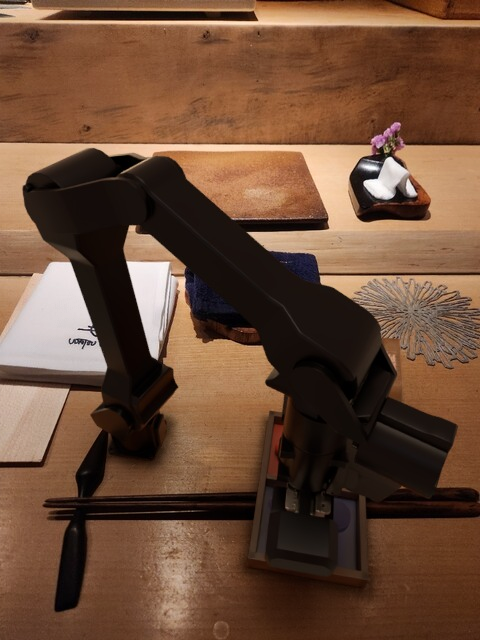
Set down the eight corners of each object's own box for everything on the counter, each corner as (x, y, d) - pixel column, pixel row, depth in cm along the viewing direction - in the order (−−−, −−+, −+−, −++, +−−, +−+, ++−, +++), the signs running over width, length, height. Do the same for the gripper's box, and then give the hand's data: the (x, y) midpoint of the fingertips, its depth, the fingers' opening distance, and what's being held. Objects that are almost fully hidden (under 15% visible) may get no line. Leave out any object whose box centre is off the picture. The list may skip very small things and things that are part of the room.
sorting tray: (247, 567, 52) (247, 558, 50) (268, 421, 66) (269, 410, 65) (363, 588, 50) (368, 580, 49) (359, 434, 65) (362, 424, 63)
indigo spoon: (265, 520, 51) (266, 513, 50) (269, 492, 54) (270, 484, 53) (349, 535, 50) (353, 528, 49) (349, 506, 53) (352, 498, 52)
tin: (394, 443, 64) (410, 407, 58) (371, 439, 65) (385, 402, 59) (390, 364, 75) (403, 327, 69) (370, 361, 75) (382, 324, 70)
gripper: (421, 551, 33) (374, 615, 44) (399, 363, 47) (367, 446, 58) (269, 524, 35) (259, 593, 45) (290, 348, 48) (278, 433, 59)
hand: (297, 507), depth 52 cm, fingers closed on indigo spoon, 2 cm apart
